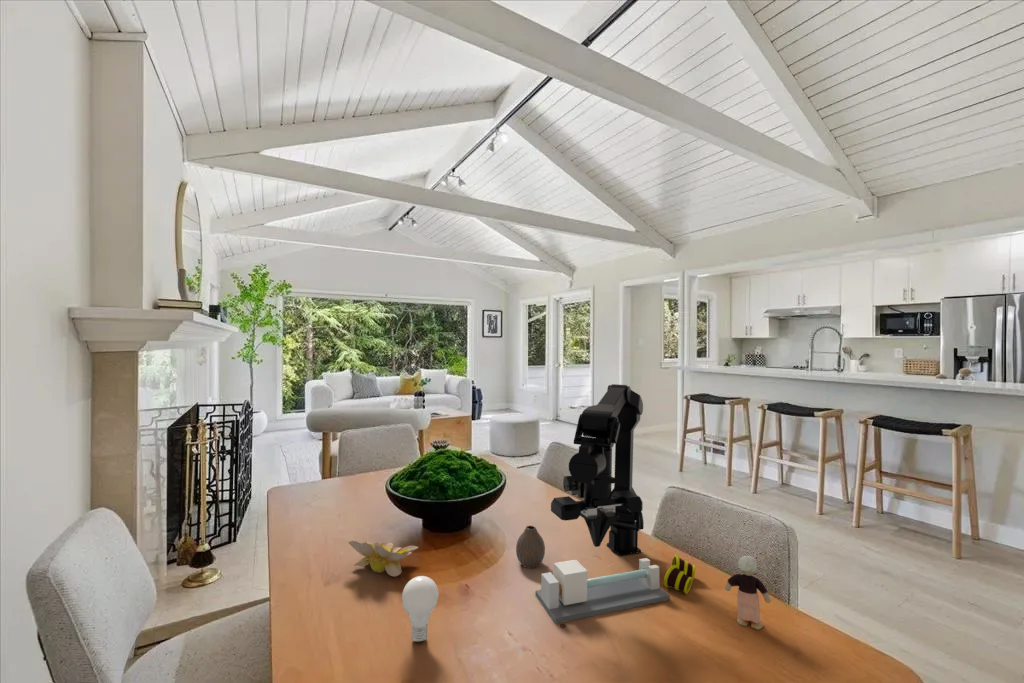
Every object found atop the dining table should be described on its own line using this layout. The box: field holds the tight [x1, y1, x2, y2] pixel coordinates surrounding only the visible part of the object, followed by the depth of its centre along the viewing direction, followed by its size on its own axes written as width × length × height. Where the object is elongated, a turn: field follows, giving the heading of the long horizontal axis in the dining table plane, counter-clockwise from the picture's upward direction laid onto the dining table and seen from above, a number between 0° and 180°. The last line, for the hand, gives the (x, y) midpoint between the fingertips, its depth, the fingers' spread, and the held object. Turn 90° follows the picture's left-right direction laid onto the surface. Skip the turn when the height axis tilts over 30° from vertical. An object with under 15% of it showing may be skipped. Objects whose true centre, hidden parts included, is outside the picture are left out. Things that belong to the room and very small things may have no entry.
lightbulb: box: [401, 575, 439, 643], centre depth 80 cm, size 6×6×11 cm
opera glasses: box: [663, 554, 696, 595], centre depth 101 cm, size 10×5×5 cm, turn 150°
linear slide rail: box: [535, 557, 671, 624], centre depth 95 cm, size 26×10×6 cm, turn 109°
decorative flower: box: [348, 540, 419, 577], centre depth 105 cm, size 15×11×10 cm
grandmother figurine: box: [724, 555, 772, 630], centre depth 87 cm, size 8×4×13 cm, turn 71°
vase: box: [515, 525, 546, 569], centre depth 109 cm, size 7×7×9 cm
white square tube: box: [553, 559, 588, 605], centre depth 92 cm, size 5×5×6 cm
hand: (596, 545), depth 94 cm, fingers closed
